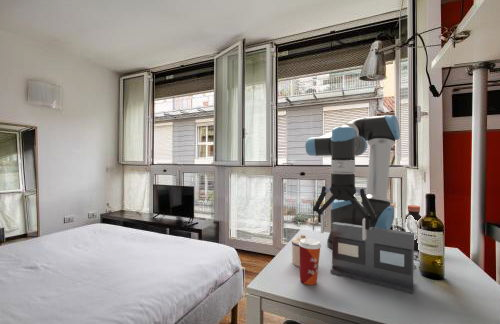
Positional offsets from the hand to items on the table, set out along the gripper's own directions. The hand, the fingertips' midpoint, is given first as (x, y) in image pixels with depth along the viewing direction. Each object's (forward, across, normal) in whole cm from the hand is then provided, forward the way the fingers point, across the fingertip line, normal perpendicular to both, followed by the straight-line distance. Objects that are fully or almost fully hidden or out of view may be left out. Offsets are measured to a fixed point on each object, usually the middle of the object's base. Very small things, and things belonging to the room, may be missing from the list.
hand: (342, 235), depth 86 cm
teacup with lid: (+17, -18, +10) cm, 27 cm away
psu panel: (+17, +7, +10) cm, 21 cm away
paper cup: (+17, -10, -5) cm, 20 cm away
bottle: (+17, +19, +53) cm, 59 cm away
